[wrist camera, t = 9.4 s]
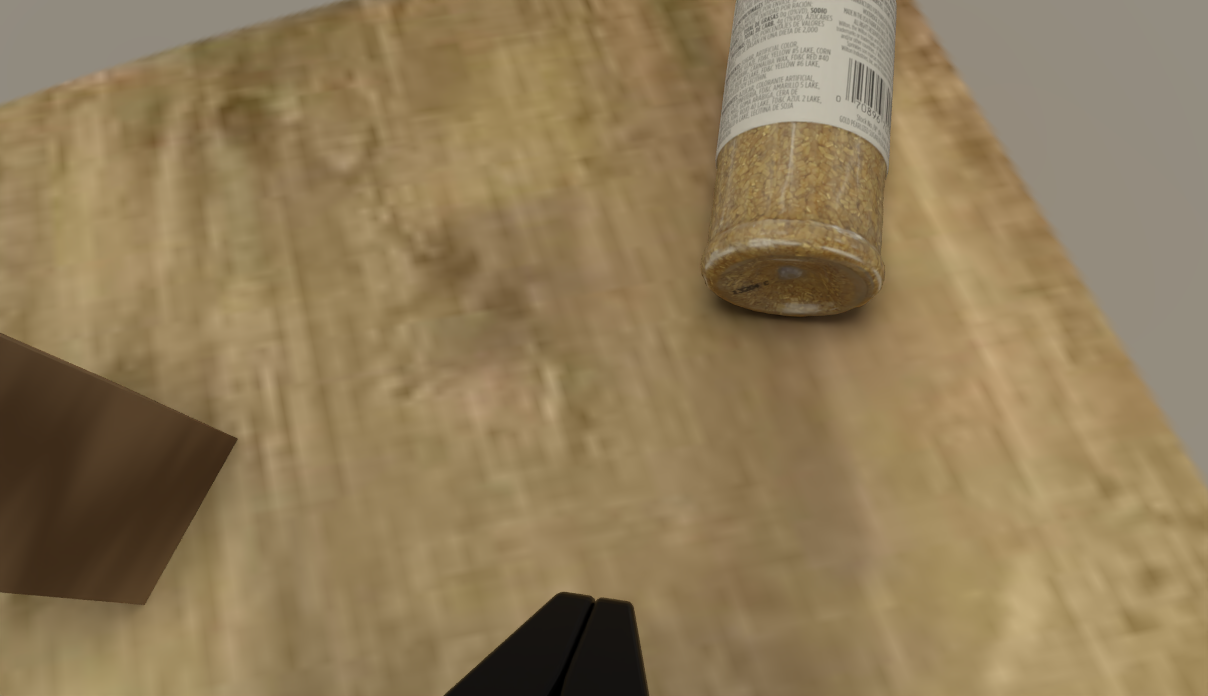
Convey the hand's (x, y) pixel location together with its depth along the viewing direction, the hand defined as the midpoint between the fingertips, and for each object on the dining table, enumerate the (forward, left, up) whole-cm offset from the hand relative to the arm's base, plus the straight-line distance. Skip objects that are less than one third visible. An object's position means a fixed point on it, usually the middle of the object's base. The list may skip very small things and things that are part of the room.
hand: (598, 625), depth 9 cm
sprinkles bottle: (+8, +3, -10) cm, 13 cm away
